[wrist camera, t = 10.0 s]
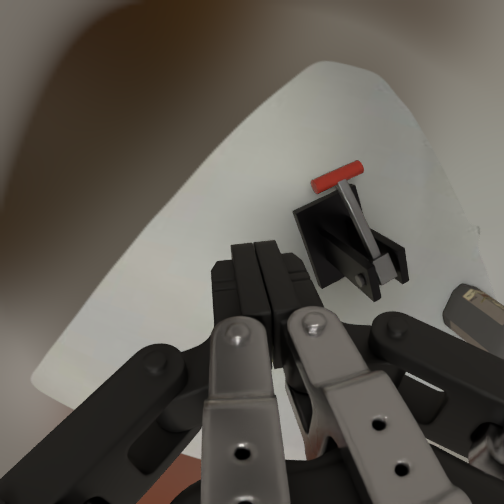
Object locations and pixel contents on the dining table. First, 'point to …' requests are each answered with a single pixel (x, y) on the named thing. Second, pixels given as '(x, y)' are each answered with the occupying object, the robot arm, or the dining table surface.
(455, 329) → the liquor
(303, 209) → the switch bracket
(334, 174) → the lever
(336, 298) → the dining table surface
